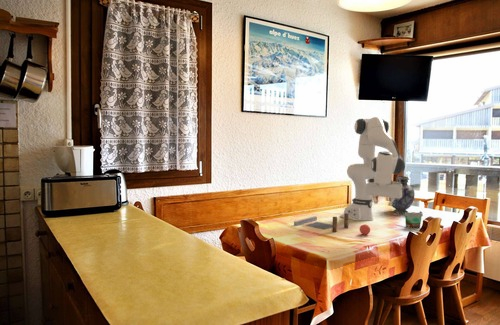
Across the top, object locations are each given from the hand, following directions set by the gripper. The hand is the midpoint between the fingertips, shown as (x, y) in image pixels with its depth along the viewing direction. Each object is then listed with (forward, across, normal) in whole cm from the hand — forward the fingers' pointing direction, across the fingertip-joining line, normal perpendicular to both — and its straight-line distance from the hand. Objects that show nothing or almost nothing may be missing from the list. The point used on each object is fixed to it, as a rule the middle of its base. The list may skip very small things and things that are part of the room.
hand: (382, 204), depth 213 cm
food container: (+20, -5, -41) cm, 46 cm away
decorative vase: (+19, +21, -86) cm, 91 cm away
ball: (+16, +10, 0) cm, 19 cm away
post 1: (+19, +26, +7) cm, 33 cm away
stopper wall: (+19, +52, 0) cm, 55 cm away
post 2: (+19, +26, -7) cm, 33 cm away
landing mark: (+19, +40, 0) cm, 44 cm away
